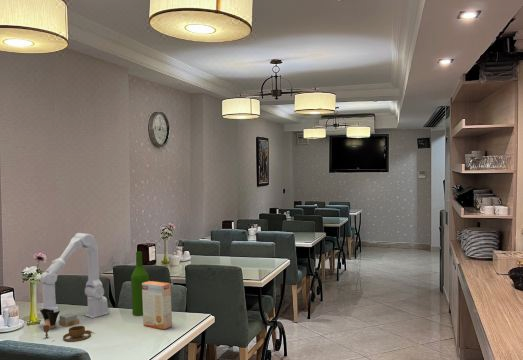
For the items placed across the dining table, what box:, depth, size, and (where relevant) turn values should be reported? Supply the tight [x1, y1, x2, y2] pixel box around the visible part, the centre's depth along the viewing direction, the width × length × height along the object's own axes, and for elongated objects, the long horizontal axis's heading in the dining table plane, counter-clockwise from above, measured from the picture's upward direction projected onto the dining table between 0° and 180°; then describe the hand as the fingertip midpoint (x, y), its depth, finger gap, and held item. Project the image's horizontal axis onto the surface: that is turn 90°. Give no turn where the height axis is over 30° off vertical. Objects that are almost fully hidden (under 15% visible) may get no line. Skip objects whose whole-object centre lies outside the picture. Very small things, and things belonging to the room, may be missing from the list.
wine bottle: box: [130, 250, 150, 317], centre depth 259 cm, size 9×9×32 cm
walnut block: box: [58, 318, 80, 328], centre depth 245 cm, size 7×7×2 cm
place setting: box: [43, 325, 96, 343], centre depth 226 cm, size 18×20×6 cm
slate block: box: [58, 312, 78, 323], centre depth 245 cm, size 6×6×2 cm
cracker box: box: [142, 280, 173, 331], centre depth 236 cm, size 14×6×21 cm, turn 55°
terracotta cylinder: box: [44, 318, 56, 330], centre depth 241 cm, size 4×4×4 cm
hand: (50, 324), depth 241 cm, fingers open, 5 cm apart
